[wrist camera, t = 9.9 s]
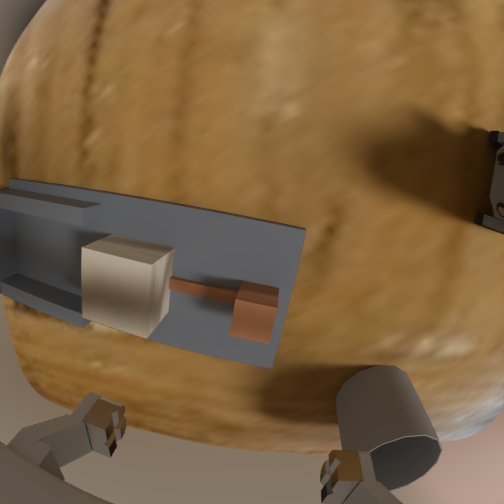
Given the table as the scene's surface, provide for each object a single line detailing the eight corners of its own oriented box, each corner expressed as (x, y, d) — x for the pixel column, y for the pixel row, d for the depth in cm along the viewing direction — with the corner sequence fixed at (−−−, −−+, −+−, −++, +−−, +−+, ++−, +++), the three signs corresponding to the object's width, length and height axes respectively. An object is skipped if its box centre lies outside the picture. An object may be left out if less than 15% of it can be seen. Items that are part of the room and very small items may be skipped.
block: (113, 233, 26) (81, 247, 21) (283, 270, 26) (282, 293, 21) (110, 295, 28) (82, 317, 23) (267, 334, 27) (263, 367, 22)
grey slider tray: (15, 178, 27) (-10, 181, 23) (305, 228, 26) (308, 238, 22) (16, 286, 30) (-5, 298, 27) (272, 362, 29) (270, 388, 25)
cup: (384, 428, 30) (403, 494, 20) (322, 416, 30) (329, 489, 21) (424, 373, 28) (460, 437, 18) (359, 356, 28) (383, 429, 18)
